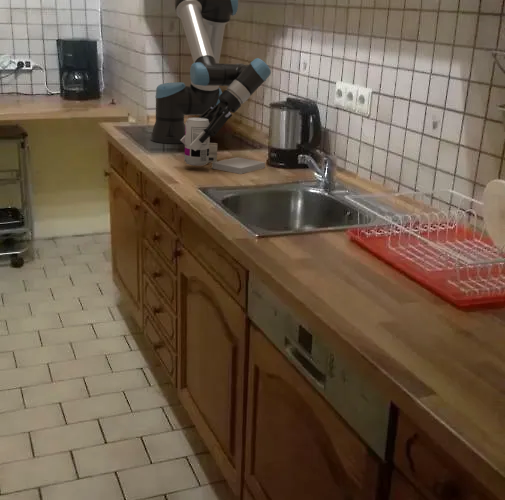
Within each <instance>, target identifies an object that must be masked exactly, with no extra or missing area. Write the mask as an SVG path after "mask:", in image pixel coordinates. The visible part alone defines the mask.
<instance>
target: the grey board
mask: <svg viewBox="0 0 505 500" xmlns="http://www.w3.org/2000/svg"><path fill="white" fill-rule="evenodd" d="M265 167H266V162H264V161H259V160H255V159H250V158H244V157H238V156H235V157H232V158H227V159H222V160H217V162H213V163H212V164H211V169H212V170H213V169H214V170H219V171H224V172H228V173H234V174H238V175H242V174H246V173H249V172H255V171H258V170H262V169H265Z"/></svg>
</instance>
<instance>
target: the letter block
mask: <svg viewBox="0 0 505 500" xmlns="http://www.w3.org/2000/svg"><path fill="white" fill-rule="evenodd" d="M217 161H218V143H216V142H209V162H208V163H210V164H211V163H213V162H217Z"/></svg>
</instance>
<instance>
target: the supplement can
mask: <svg viewBox="0 0 505 500" xmlns="http://www.w3.org/2000/svg"><path fill="white" fill-rule="evenodd" d="M184 124H185V145H184V156H183V157H184V162H185V163H186V164H187V165H190V166H194V167H195V166H197V167H200V166H205V165H207V164H208V163H210V162H209V143H210V141H211V139H210V138H211V137H209V138H208V139H207V140H206V141H205V142H204V143H203V144H202V145H201V146H200V147H199V148H198V149H197V150H196V151H194V150H193V148H192V147H191V146H190V144H191V143H192V142H193V141H194V140H195V139H196V138H197V137H198V136H199V135H200V134H201V133H202V132H203V131H204V129H207V127H208V126H209V124H210V123H209V121H208V119H206V118H198V117H188V118H187V120H186V121H185V122H184ZM204 132H205V131H204Z"/></svg>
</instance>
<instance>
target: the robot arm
mask: <svg viewBox="0 0 505 500" xmlns="http://www.w3.org/2000/svg"><path fill="white" fill-rule="evenodd" d="M238 8H239V0H174V10H175V12H176V15H177V18H179V19H180V21H181V24H182V27H183V30H184V34H185V37H186V41H187V45H188V48H189V50H190V54H191V57H192V61H193V63H192V64H191V65H190V68H189V69H190V71H189V75H190V77H189V78H190V85H186V83H185V82H183V81H181V82H180V81H179V82H176V81H173V82H166V83H161V84H158V86H157V87H156V89H155V90H156V91H155V122H154V125H153V128H152V132H151V134H150V140H151V142H156V143H159V144H172V145H173V144H183V145H184V146H185V116H199V117H197V118H206V119H208V121H209V123H210V124H209V126H208V127H207V129H204V131H205V132H204V131H203V132H202V133H201V134H200V135H199V136H198V137H197V138H196V139H195V140H194V141H193V142H192V143H191V144H190V146H191V147H192V148H193V150H194V151H196V150H197V149H198V148H199V147H200V146H201V145H202V144H203V143H204V142H205V141H206V140H207V139H208V138H209V137H210V138H212V137H215V136H216V135H217V133H219V132H220V130H221V129H222V128H223V127H224V125H225V124H226V122H228V120H229V119H231V117H232V116H233V114H232V113H236V112H237V111H238V110H239V109H240V107H241V106H242V105H243V104H244V103H245V102H247V101H248V100H249V98H250V97H251V96H252V95H253V94H254V93H255V92H256V91H257V90H258V89H259V87H261V85H262V84H264V82H266V81H267V80H268V78H269V77H270V76H271V73H272V72H271V68H270V67H269V65H268V64H267V63H266V62H265V61H264V60H262V59H261V58H259V57H256V58H254V59H253V60H252V61H250V63H249V64H244V63H220V59H221V54H222V53H221V52H222V49H223V48H222V47H223V40H224V35H225V28H226V25H227V24H229V22H231V17H234V16H236V14H237V13H238V10H239V9H238ZM220 86H221V87H226V89H224V90H223V91H222V88H220Z"/></svg>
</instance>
